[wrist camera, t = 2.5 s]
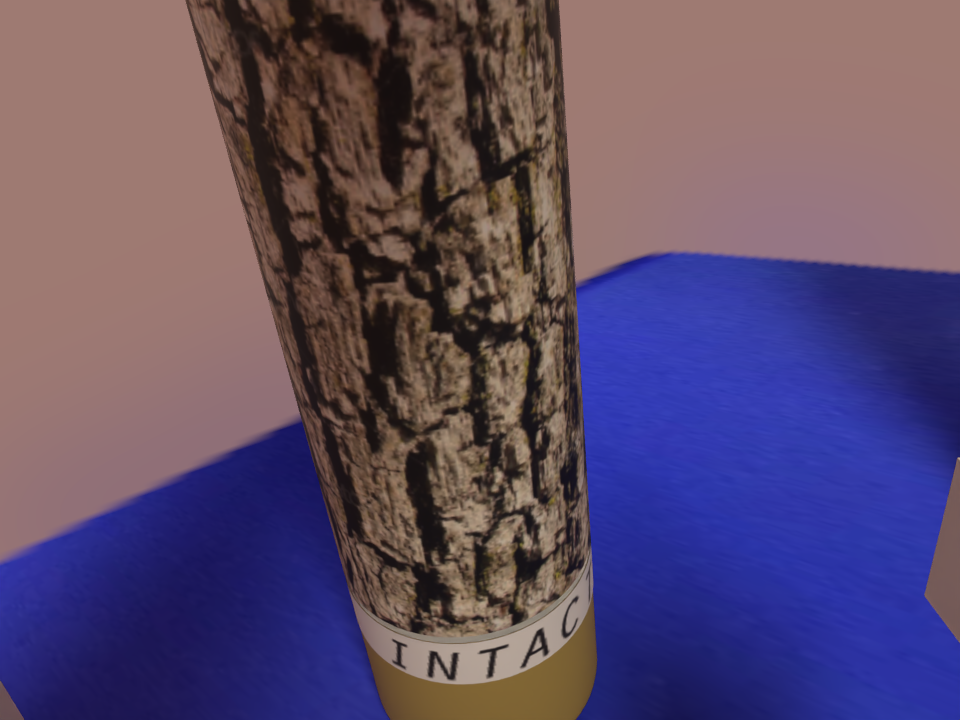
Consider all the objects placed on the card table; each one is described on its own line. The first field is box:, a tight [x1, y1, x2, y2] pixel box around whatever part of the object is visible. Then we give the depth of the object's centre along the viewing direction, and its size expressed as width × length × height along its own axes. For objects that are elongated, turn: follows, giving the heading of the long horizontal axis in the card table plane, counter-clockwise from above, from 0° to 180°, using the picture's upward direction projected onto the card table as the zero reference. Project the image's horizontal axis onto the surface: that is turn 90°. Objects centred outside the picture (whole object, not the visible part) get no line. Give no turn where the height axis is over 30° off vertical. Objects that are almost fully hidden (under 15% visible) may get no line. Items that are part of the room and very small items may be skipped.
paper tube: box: [186, 0, 597, 720], centre depth 22 cm, size 7×7×25 cm
